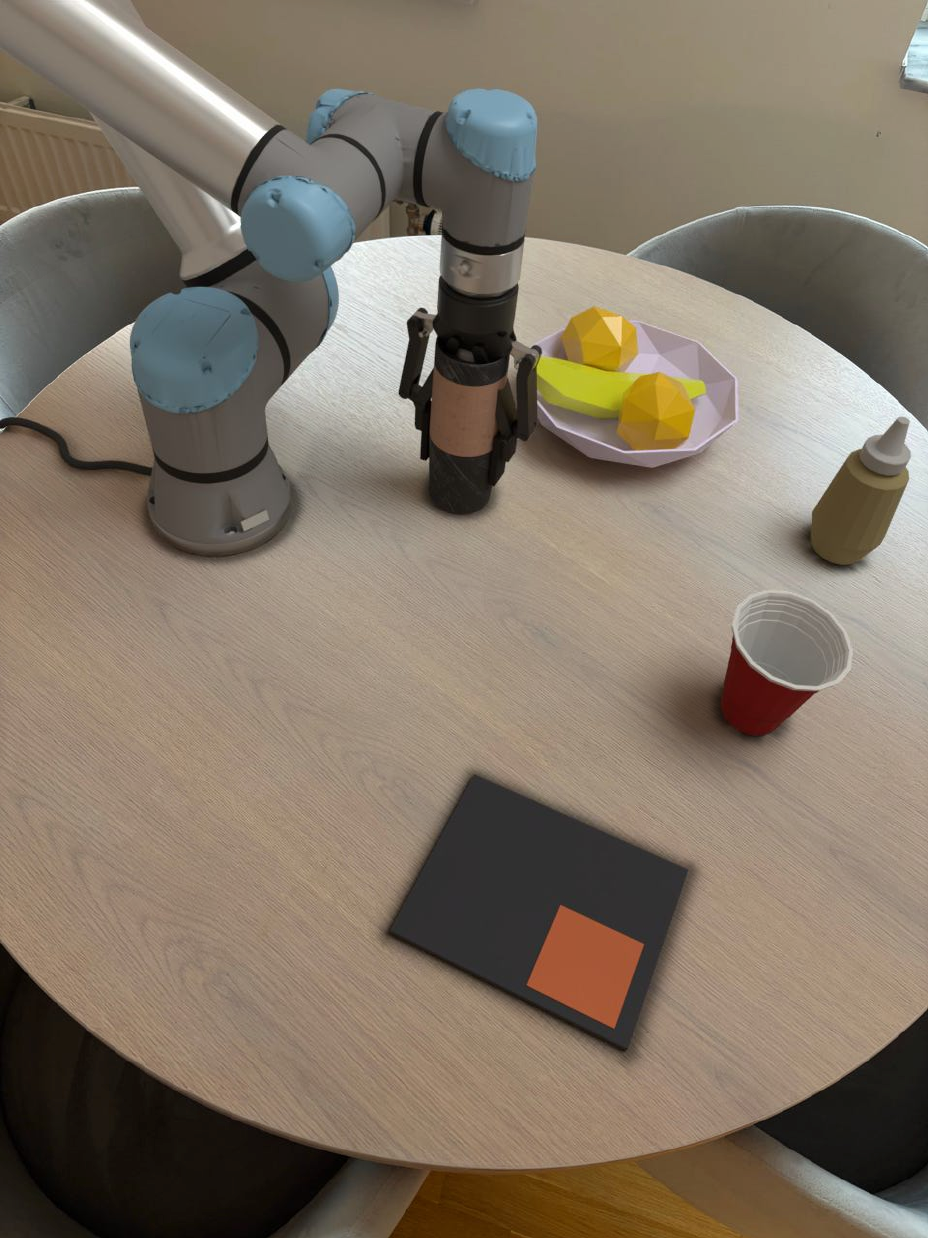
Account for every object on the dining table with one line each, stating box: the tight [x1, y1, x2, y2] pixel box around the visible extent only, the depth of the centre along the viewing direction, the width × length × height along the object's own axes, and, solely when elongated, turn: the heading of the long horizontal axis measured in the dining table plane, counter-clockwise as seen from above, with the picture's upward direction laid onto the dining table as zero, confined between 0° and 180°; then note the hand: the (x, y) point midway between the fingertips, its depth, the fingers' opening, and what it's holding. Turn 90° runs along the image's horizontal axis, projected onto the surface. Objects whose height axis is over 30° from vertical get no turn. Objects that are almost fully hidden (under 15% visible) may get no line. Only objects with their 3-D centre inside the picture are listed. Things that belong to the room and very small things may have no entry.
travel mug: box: [428, 335, 511, 515], centre depth 101 cm, size 8×8×20 cm
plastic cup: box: [720, 589, 854, 736], centre depth 87 cm, size 11×11×12 cm
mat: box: [389, 773, 689, 1052], centre depth 78 cm, size 20×16×1 cm
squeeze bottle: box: [810, 416, 912, 566], centre depth 100 cm, size 8×8×18 cm
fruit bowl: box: [510, 306, 739, 469], centre depth 115 cm, size 28×27×11 cm
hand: (462, 465), depth 105 cm, fingers closed on travel mug, 8 cm apart
